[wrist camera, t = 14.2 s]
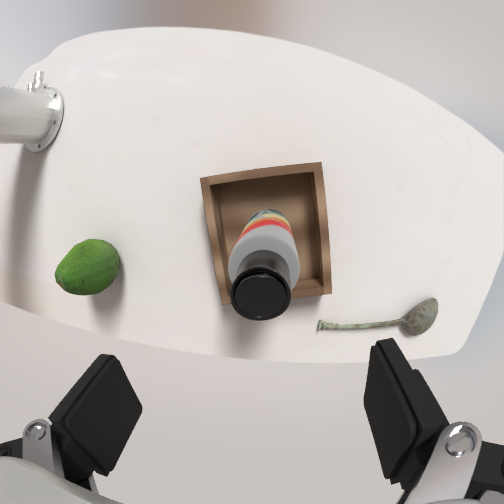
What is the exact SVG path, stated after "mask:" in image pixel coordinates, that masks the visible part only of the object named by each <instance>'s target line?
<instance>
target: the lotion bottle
mask: <svg viewBox="0 0 504 504" xmlns="http://www.w3.org/2000/svg"><path fill="white" fill-rule="evenodd" d="M228 273H229V277H230V280H231V283H232V286H231V291H230V299H231V303H232V306H233V307H234V309H235V310H236V312H237V313H239V314H240V315H241V316H243V317H245V318H247V319H251V320H259V321H261V320H269V319H272V318H275V317H277V316H279V315H281V314H282V313H283V312H284V311H285V310H286V309H287V308H288V306H289V304H290V301H291V290H292V289H293V288H294V286H295V285H296V283H297V281H298V277H299V273H300V264H299V258H298V254H297V250H296V246H295V242H294V239H293V235H292V231H291V228H290V225H289V222H288V220H287V219H286V217H285V216H284V215H283V214H282V213H280V212H279V211H276V210H273V209H263V210H260V211H258V212H256V213H255V214H254V215H253V216H252V217H251V218H250V219H249V221H248V222H247V224H246V226H245V228H244V230H243V232H242V234H241V235H240V237H239V239H238V241H237V243H236V245H235V247H234V249H233V251H232V253H231V255H230V258H229V263H228Z"/></svg>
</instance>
